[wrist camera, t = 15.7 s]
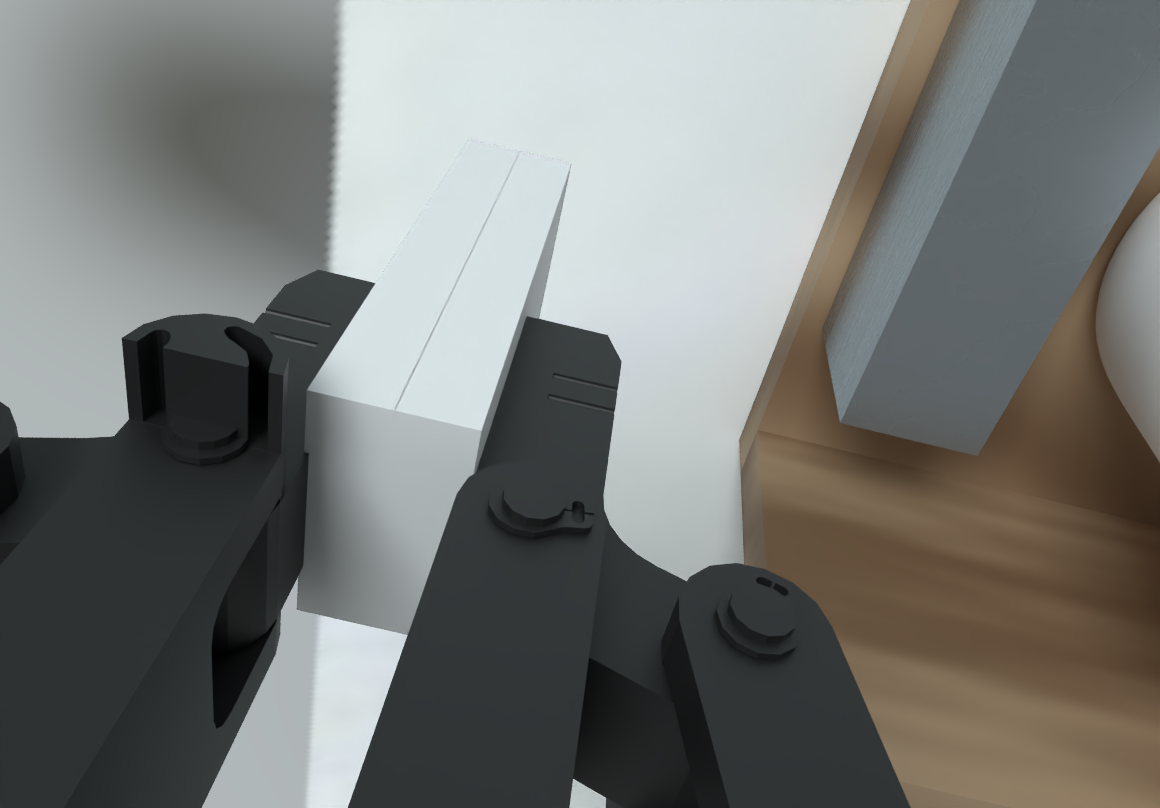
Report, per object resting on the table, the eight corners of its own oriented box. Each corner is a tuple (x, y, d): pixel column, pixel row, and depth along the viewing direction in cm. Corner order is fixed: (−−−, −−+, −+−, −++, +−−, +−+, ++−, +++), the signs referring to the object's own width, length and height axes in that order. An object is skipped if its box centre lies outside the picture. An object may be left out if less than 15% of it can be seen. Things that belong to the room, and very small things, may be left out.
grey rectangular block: (988, -70, 18) (1050, -32, 14) (1140, -31, 18) (1237, 15, 14) (822, 328, 23) (839, 423, 20) (939, 357, 23) (977, 456, 20)
